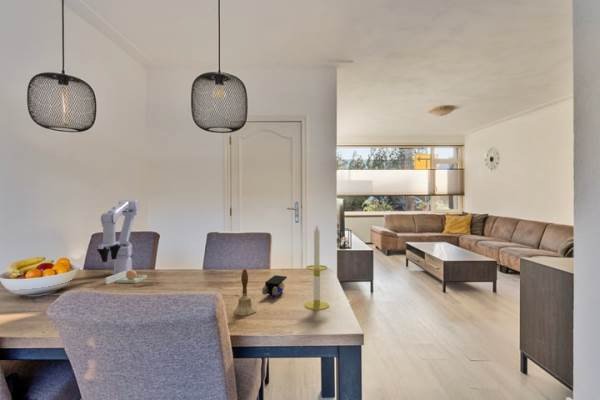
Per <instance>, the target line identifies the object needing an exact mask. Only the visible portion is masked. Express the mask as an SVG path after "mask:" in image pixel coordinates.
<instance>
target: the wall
mask: <svg viewBox="0 0 600 400" xmlns="http://www.w3.org/2000/svg"><path fill="white" fill-rule="evenodd" d="M125 276H126V271H123V272H120V273H118V274H111V275H109V276H108V277H107V276H106V277H105V279H104V283H105V285H108V284H110V283H113V282H116V280H117V279H119V278H122V277H125Z"/></svg>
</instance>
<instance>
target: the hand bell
mask: <svg viewBox="0 0 600 400" xmlns="http://www.w3.org/2000/svg"><path fill="white" fill-rule="evenodd" d="M240 278H241V284H242V285H241V286H242V295H241V296H240V297H239V298H238V302H237V307H236V308H235V309H234V310H233V314H234V315H236V316H244V317H245V316H251V315H253V314H255V313H256V312H257V310H256V308H255V307H254V306H253V304H252V298H251V296H249V295H248V282H249V275H248V271H247V269H245V268H244V269H242V273H241V277H240Z"/></svg>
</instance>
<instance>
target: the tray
mask: <svg viewBox="0 0 600 400" xmlns="http://www.w3.org/2000/svg"><path fill="white" fill-rule="evenodd" d="M147 278H148V275H146V274H145V275H144V274H142V275H140V274H139V275H136V277H135V278H134V279H132V280H130V279H128V278H127V277H126V276H125V277H122V278H119V279H117V280H116V281H115V283H118V284H122V283H124V284H137V283H139V282H142V281H144V280H146V279H147Z"/></svg>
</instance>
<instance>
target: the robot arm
mask: <svg viewBox="0 0 600 400" xmlns="http://www.w3.org/2000/svg"><path fill="white" fill-rule="evenodd" d="M118 201H119V202H118V205H117V206H113V207H112V208H110V210H108V211H107V212H104V213H102V214H101V215H100V222H101V228H102V240H103V241H102V243H101V244H99V245H98V248H97V249H96V251H97V252H98V253H99V256H100V258H101V259H100V260H101V261H102V263H107V262H108V257H109V253H110V257H111V260H114V264H113V265H114V269H113V272H111V273H110V275H115V274H118V273H120V272H123V271H126V273H127V272H128V271H129V270H133V260H132V258H131V256H132V254H133V244H132V243H131V242H130V237H131V232H132V228H133V223H134V219H135V216H137V215H138V212H139V209H140V204H139V201H138V199H120V200H118ZM121 216H124V220H123V223H122V228H121V231H120V234H119V238H118V240H116V224H117V223H118V220H119V218H120V217H121Z"/></svg>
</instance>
